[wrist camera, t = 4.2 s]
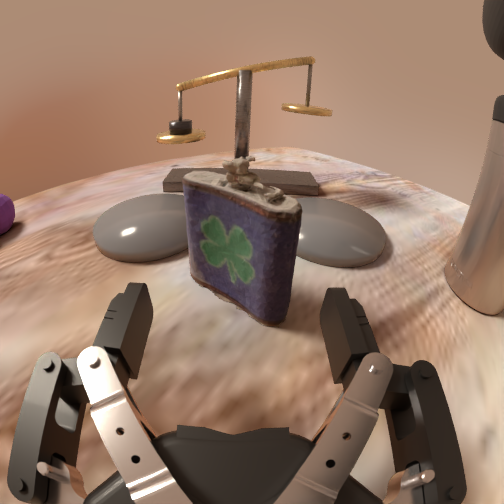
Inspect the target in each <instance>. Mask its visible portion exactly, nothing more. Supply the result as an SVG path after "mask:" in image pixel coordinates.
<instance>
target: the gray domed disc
mask: <svg viewBox="0 0 504 504" xmlns="http://www.w3.org/2000/svg"><path fill="white" fill-rule="evenodd" d="M296 200H297V201H298V202H299V203H300V204H301V207H302V220H301V227H300V234H299V241H298V247H297V253H296V255H297V256H299V257H301V258H303V259H306V260H309V261H311V262H315V263H318V264H322V265H327V266H333V267H358V266H363V265H367V264H369V263H371V262H373V261H375V260H376V259H377V258H378V257H379V256H380V255H381V253H382V251H383V248H384V245H385V242H386V233H385V231H384V229H383V227H382V226H381V224H380V223H379V222H378V221H377V220H376V219H375V218H373V217H372V216H371V215H369V214H368V213H366V212H365V211H363V210H361V209H359V208H357V207H354V206H352V205H349V204H346V203H343V202H340V201H336V200H331V199H325V198H312V197H311V198H297V199H296Z"/></svg>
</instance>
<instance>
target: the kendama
mask: <svg viewBox="0 0 504 504" xmlns="http://www.w3.org/2000/svg"><path fill="white" fill-rule="evenodd" d="M14 218H15V209H14V204H13V202H12V201H11V199H10V198H9V197H7V196H5V195H3V194H0V235H1V234H3V233H5V232H7V231H8V230H9V228H10V227H11V226H12V224H13V221H14Z"/></svg>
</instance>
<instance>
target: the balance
mask: <svg viewBox="0 0 504 504" xmlns="http://www.w3.org/2000/svg"><path fill="white" fill-rule="evenodd" d="M314 63H315V59H314V58H313V57H302V58H292V59H285V60H278V61H271V62H265V63H260V64H254V65H249V66H244V67H239V68H235V69H231V70H227V71H222V72H218V73H214V74H211V75H207V76H203V77H200V78H196V79H193V80H190V81H187V82H183V83H180V84H178V85H177V86H176V90H177V91H178V103H179V105H178V106H179V120H174V121H170V122H169V130H170V131H166V132H162V133H159V134H157V136H156V137H157V142H158V143H161V144H182V143H190V142H196V141H200V140H203V139H204V138H205V131H204V130H200V129H192V120H186V119H185V120H182V91H184V90H187V89H190V88H194V87H197V86H201V85H204V84H208V83H212V82H216V81H220V80H224V79H228V78H232V77H236V76H237V97H236V124H235V159H238V158H240V157H244V159H246V157H249V137H250V115H251V94H252V93H251V92H252V73H255V72H261V71H267V70H273V69H279V68H286V67H293V66H302V65H309V69H308V82H307V93H306V105H303V104H291V103H283V104H282V110H285V111H289V112H295V113H301V114H309V115H317V116H332V110H330V109H327V108H322V107H316V106H310V105H309V101H310V90H311V77H312V64H314ZM247 170H248V171H249V172H253V173H256V174H257V176H258V177H260V178H261V180H260V183H261V184H262V185H264V186H265V187H268V188H271V189H273V188H272V187H276V188H278V189H280V190H282V191H283V192H284V194H298V195H314V196H318V190H319V185H318V184H317V182H316V181H315V179H314V177H313V176H312V174H311V173H310V172H299V171H284V170H265V169H248V168H247ZM193 171H209V172H215V173H218V174H223V175H226V174H227V172H229V170H226V169H225V168H179V169H172V170H171V171H170V173H169V174H168V175H167V177H166V178H165V179H164V181H163V191H164V192H179V191H184V190H183V183H182V178H183V177H184V175H186V174H188V173H191V172H193ZM270 186H272V187H270ZM274 190H275V189H274Z"/></svg>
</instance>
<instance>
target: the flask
mask: <svg viewBox="0 0 504 504" xmlns="http://www.w3.org/2000/svg"><path fill="white" fill-rule="evenodd" d="M248 161H255V158H254V157H252V156H249V157H246V159H244V157H240V158H238V159H234V160H232V161H223V163H222V165H223V167H224V168H225V169H226V170H229V172H227V174H226V175H223V174H218V173H215V172H209V171H193V172H191V173H188V174H186V175H184V177H183V178H182V183H183V190H184V202H185V213H186V223H187V236H188V248H189V263H190V273H191V276H192V278H193V279H194V280H195V282H197V283H198V284H199V286H201V287H203V286H205V287H207V288H208V289H209V290H211V291H212V292H213V293H215V295H216V296H218V297H219V299H222V300H223V301H227V302H231V303H234V304H235V305H237V309H240V310H244V311H246V312H247V313H248V315H249V317H252V318H254V319H255V320H256V321H258V322H259V323H260V324H261V325H263V326H277V327H279V324H281V323H282V322H283V321H284V320H285V318H286V315H287V311H288V307H289V302H290V296H291V287H292V279H293V273H294V265H295V259H296V253H297V247H298V241H299V234H300V227H301V220H302V207H301V204H300V203H299V202H298V201H297V200H296V199H294V198H292V197H289V196H286V195H284V192H283V191H282V190H280V189H278V188H276V187H272V186H270V187H272V188H273V189H271V188H268V187H265V186H264V185H262V184H261V183H260V180H261V178H260V177H258V176H257V174H256V173H253V172H249V171H248V170H247V168H248V167H249V162H248ZM274 189H275V190H274Z"/></svg>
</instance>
